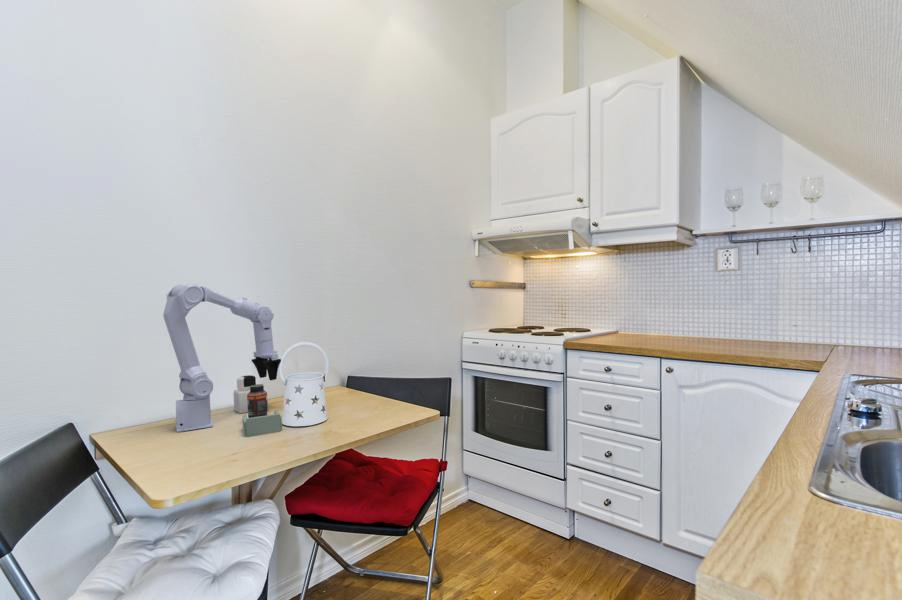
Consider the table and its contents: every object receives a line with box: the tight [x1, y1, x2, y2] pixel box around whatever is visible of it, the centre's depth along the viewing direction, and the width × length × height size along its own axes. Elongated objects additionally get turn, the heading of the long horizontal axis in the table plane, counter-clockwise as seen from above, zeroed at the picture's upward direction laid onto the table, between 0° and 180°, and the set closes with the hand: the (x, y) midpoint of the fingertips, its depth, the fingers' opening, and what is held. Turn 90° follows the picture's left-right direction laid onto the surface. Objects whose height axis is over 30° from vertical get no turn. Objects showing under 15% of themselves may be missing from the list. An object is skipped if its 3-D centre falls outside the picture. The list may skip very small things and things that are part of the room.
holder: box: [242, 410, 283, 438], centre depth 134 cm, size 10×10×5 cm
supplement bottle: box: [247, 383, 269, 418], centre depth 144 cm, size 6×6×11 cm
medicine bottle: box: [233, 374, 257, 415], centre depth 158 cm, size 7×7×12 cm
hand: (268, 378), depth 159 cm, fingers open, 7 cm apart
